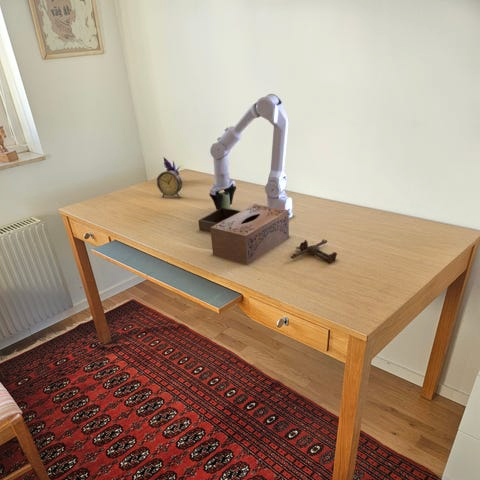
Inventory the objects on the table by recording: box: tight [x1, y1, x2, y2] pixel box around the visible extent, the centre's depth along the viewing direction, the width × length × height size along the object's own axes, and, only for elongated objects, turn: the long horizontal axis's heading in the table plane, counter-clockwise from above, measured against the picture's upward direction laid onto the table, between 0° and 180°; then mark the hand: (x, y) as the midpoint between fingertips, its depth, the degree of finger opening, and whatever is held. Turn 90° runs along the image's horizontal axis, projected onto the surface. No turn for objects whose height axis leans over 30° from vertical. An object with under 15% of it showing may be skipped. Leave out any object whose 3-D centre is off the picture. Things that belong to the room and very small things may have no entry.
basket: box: [197, 208, 242, 234], centre depth 170 cm, size 14×15×4 cm
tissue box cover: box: [210, 203, 290, 266], centre depth 153 cm, size 26×14×10 cm, turn 144°
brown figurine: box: [290, 238, 338, 264], centre depth 145 cm, size 18×4×14 cm
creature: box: [156, 157, 181, 180], centre depth 222 cm, size 9×18×12 cm, turn 140°
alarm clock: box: [156, 160, 183, 198], centre depth 202 cm, size 11×5×16 cm, turn 73°
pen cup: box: [219, 191, 231, 209], centre depth 182 cm, size 5×5×8 cm
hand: (224, 207), depth 183 cm, fingers open, 7 cm apart
